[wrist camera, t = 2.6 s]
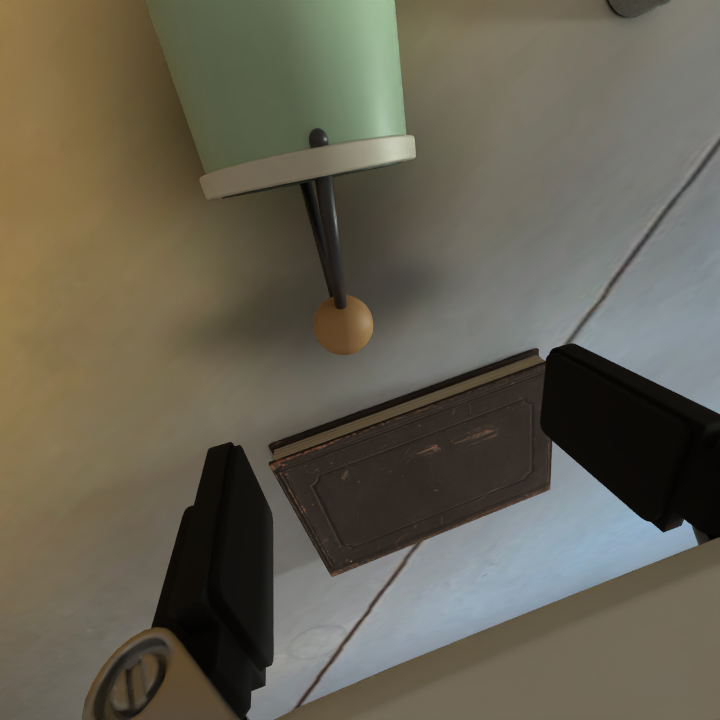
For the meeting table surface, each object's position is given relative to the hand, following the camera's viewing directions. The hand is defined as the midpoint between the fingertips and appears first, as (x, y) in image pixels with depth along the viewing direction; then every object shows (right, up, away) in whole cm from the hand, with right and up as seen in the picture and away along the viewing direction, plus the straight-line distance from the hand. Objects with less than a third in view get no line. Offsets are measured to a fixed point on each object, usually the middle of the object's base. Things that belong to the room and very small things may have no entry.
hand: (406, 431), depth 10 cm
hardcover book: (+4, -7, +21) cm, 23 cm away
